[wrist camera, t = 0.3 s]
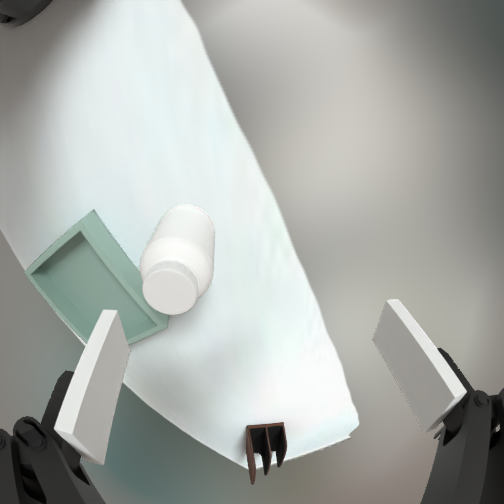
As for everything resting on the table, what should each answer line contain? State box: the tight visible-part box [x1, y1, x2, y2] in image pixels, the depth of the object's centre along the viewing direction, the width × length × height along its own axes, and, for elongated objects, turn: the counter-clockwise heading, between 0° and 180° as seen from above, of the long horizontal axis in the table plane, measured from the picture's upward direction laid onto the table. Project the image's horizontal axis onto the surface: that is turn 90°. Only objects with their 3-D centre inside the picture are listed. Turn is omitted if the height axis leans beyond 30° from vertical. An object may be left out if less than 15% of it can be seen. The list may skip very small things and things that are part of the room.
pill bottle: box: [140, 204, 215, 315], centre depth 32 cm, size 8×8×15 cm
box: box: [24, 210, 169, 345], centre depth 38 cm, size 20×16×4 cm
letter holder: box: [246, 422, 287, 485], centre depth 62 cm, size 10×20×14 cm, turn 179°
